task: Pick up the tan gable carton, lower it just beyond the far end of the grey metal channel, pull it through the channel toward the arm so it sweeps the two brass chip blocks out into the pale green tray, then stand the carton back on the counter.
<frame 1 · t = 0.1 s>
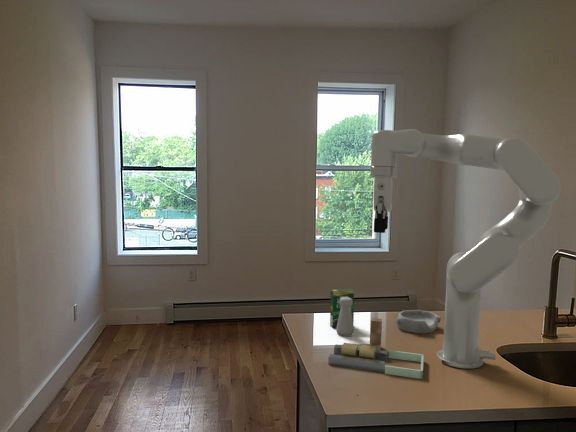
hand: (380, 230, 140), 37 cm above the counter, tool pointing down, fingers open, 9 cm apart
tan gable carton: (375, 352, 142), on the counter
chip a: (367, 362, 131), point 1 cm above the counter, touching slot board
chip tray: (404, 370, 128), on the counter
salt shaker: (344, 337, 154), on the counter
coffee box: (341, 327, 165), on the counter
dish: (416, 328, 165), on the counter
chip b: (349, 359, 133), point 1 cm above the counter, touching slot board
slot board: (358, 364, 132), on the counter
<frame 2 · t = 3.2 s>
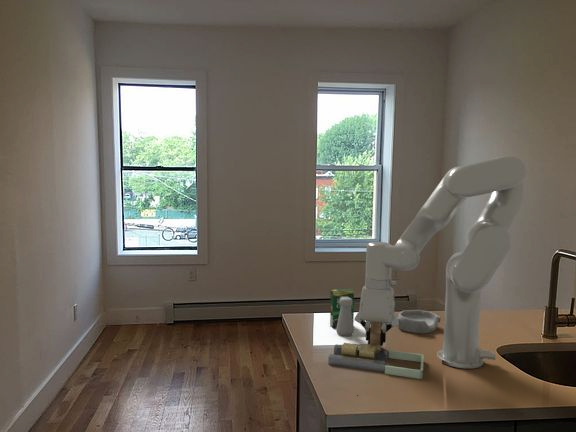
hand: (375, 343, 141), 3 cm above the counter, tool pointing down, fingers closed on tan gable carton, 3 cm apart
tan gable carton: (375, 352, 142), on the counter, touching gripper
everything else where it was.
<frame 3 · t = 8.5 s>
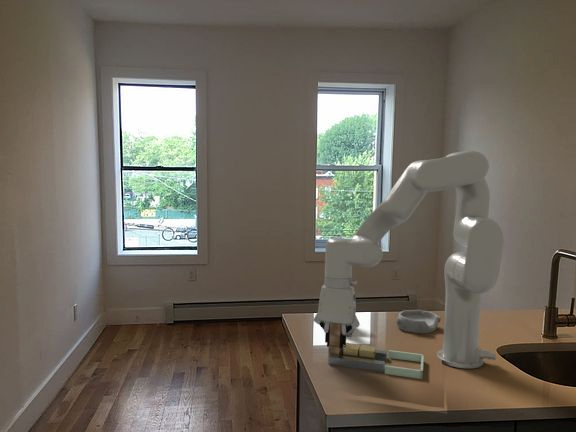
hand: (335, 345, 134), 5 cm above the counter, tool pointing down, fingers closed on tan gable carton, 3 cm apart
tan gable carton: (335, 354, 134), point 2 cm above the counter, touching gripper
chip b: (351, 359, 133), point 1 cm above the counter, touching gripper, slot board
everything else where it was.
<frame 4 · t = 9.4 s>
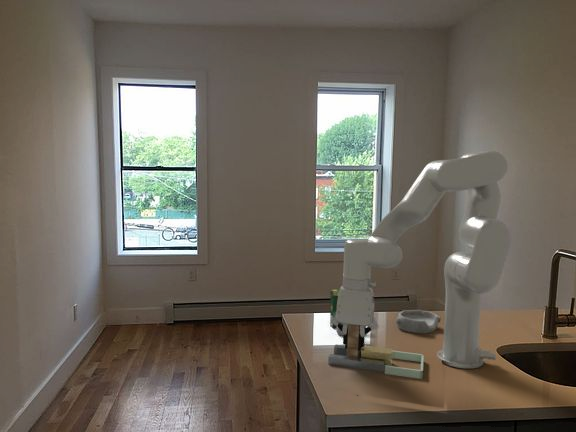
hand: (353, 347, 132), 5 cm above the counter, tool pointing down, fingers closed on tan gable carton, 3 cm apart
tan gable carton: (353, 356, 132), point 2 cm above the counter, touching gripper
chip a: (384, 364, 130), point 1 cm above the counter, touching chip b
chip b: (369, 362, 131), point 1 cm above the counter, touching chip a, gripper
everything else where it was.
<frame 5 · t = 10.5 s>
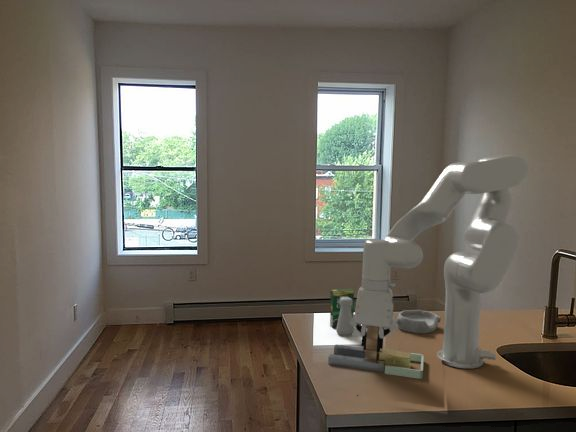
hand: (371, 349, 130), 5 cm above the counter, tool pointing down, fingers closed on tan gable carton, 3 cm apart
tan gable carton: (371, 358, 131), point 2 cm above the counter, touching gripper
chip a: (402, 368, 128), point 1 cm above the counter, touching chip b
chip b: (385, 365, 129), point 1 cm above the counter, tilted 6°, touching chip a, gripper
everything else where it was.
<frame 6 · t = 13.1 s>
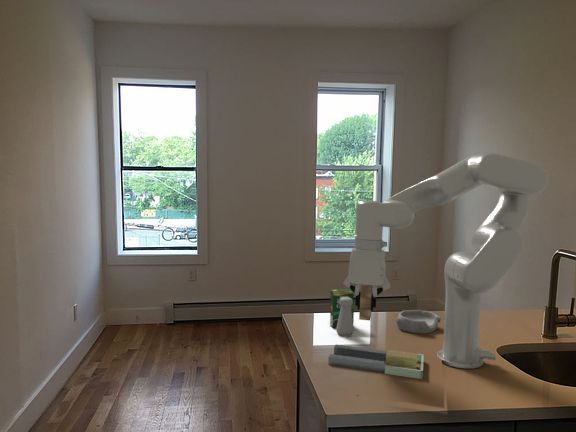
hand: (365, 308, 134), 15 cm above the counter, tool pointing down, fingers closed on tan gable carton, 3 cm apart
tan gable carton: (365, 317, 134), point 13 cm above the counter, touching gripper
chip a: (408, 369, 128), point 1 cm above the counter, touching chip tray
chip b: (393, 367, 129), point 1 cm above the counter, touching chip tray
everything else where it was.
when the fingers open (4 cm above the counter, at t = 15.4 s): tan gable carton drops 2 cm, on the counter.
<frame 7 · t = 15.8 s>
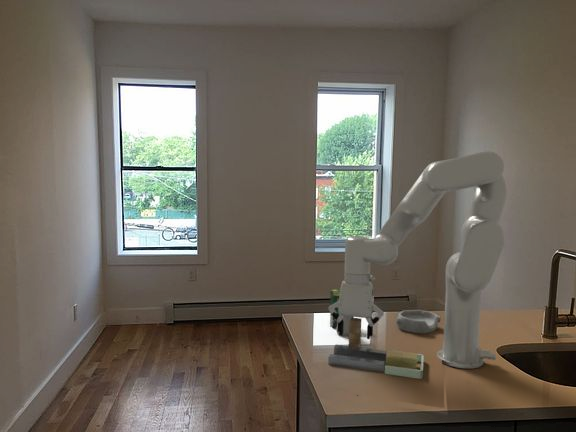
hand: (354, 335, 141), 5 cm above the counter, tool pointing down, fingers open, 7 cm apart
tan gable carton: (354, 351, 141), on the counter
everything else where it was.
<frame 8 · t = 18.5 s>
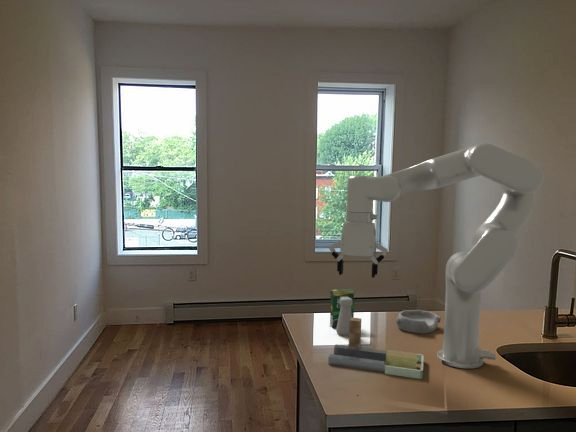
hand: (357, 275, 139), 23 cm above the counter, tool pointing down, fingers open, 9 cm apart
nothing on the counter moved.
at the end: chip a inside the target area (1.3 cm from its centre), point 0.6 cm above the counter; chip b inside the target area (2.7 cm from its centre), point 0.6 cm above the counter; the gripper is holding nothing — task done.
